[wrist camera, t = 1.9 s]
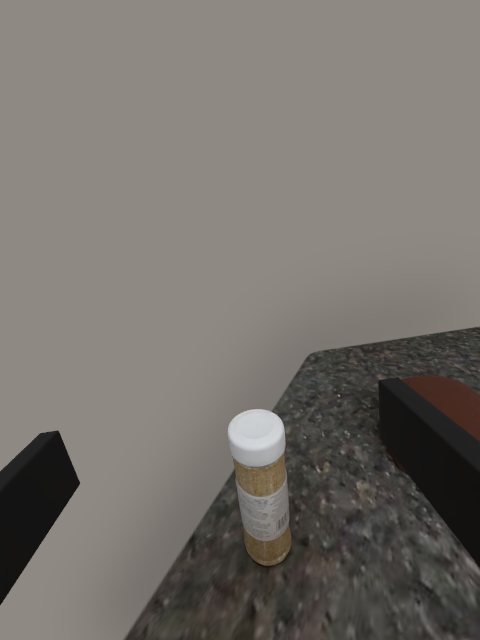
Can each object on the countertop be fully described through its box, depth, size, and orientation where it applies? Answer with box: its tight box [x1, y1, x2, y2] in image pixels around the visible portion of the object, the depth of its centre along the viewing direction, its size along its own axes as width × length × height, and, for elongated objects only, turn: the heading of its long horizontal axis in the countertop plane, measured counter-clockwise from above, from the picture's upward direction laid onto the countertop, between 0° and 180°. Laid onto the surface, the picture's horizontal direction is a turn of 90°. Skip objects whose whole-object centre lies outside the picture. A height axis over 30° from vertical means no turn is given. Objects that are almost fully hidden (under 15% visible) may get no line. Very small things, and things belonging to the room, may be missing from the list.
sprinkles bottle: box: [228, 409, 291, 566], centre depth 23 cm, size 5×5×14 cm
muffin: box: [387, 375, 480, 474], centre depth 30 cm, size 12×11×10 cm
